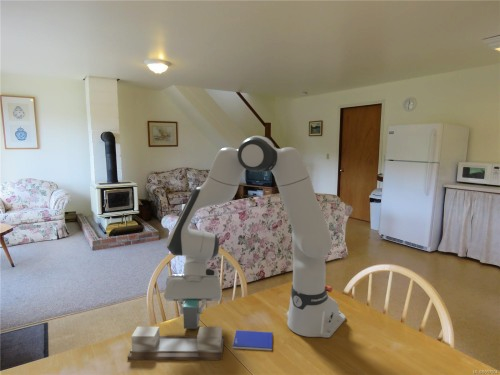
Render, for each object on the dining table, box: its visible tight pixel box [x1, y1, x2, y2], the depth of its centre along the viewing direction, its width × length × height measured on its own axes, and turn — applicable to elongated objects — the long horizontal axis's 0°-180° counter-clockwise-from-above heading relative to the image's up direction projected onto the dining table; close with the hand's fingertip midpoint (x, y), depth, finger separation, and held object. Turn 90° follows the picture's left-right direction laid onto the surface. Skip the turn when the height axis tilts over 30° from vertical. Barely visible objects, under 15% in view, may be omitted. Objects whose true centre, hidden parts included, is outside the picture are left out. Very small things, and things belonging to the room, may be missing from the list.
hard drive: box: [232, 329, 273, 351], centre depth 103 cm, size 2×8×12 cm
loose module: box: [182, 299, 201, 330], centre depth 109 cm, size 4×5×8 cm
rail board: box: [127, 326, 225, 361], centre depth 98 cm, size 28×10×6 cm, turn 90°
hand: (191, 313), depth 108 cm, fingers closed on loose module, 4 cm apart
